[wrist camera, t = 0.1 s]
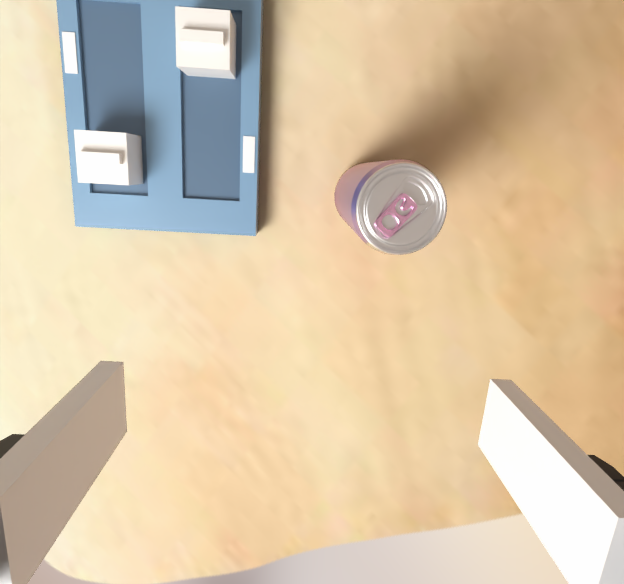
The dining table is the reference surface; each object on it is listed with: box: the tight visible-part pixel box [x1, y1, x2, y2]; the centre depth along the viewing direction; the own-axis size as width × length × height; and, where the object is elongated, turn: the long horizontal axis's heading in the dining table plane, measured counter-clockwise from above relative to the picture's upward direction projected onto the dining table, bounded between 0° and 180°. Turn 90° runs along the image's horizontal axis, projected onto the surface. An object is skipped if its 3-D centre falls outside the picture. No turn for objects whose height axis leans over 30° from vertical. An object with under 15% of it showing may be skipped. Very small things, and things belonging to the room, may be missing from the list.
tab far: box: [74, 130, 143, 185], centre depth 36 cm, size 4×4×4 cm
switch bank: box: [57, 0, 263, 236], centre depth 38 cm, size 20×16×2 cm
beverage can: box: [335, 159, 447, 255], centre depth 34 cm, size 6×6×15 cm
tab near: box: [175, 6, 236, 79], centre depth 34 cm, size 4×4×4 cm
